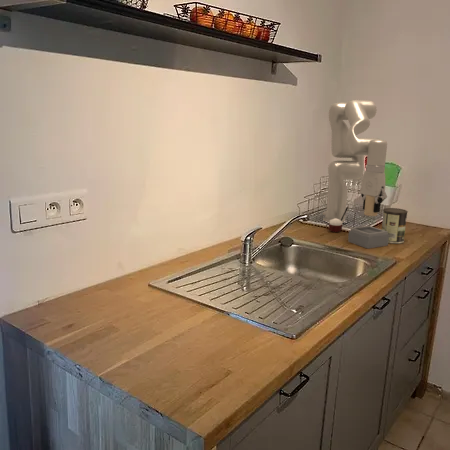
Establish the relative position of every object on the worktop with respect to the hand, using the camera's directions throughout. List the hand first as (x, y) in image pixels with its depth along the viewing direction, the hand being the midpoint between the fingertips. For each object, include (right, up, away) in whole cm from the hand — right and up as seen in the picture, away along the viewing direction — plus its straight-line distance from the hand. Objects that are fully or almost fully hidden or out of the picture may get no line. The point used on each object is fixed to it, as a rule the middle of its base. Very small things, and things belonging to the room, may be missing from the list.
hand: (371, 210), depth 216 cm
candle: (0, -2, 0) cm, 2 cm away
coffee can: (+12, -14, +10) cm, 21 cm away
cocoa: (-10, -10, +23) cm, 27 cm away
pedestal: (0, -14, +4) cm, 15 cm away
